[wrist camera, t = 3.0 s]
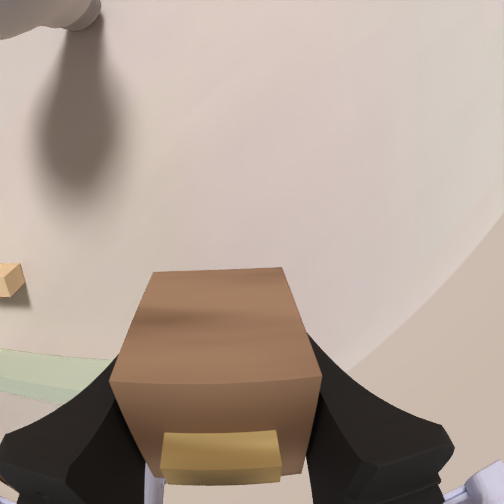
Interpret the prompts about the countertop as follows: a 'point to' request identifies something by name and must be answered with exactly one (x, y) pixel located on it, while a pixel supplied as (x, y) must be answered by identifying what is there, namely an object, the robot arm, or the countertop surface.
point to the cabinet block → (218, 377)
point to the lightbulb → (46, 15)
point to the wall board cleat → (42, 361)
